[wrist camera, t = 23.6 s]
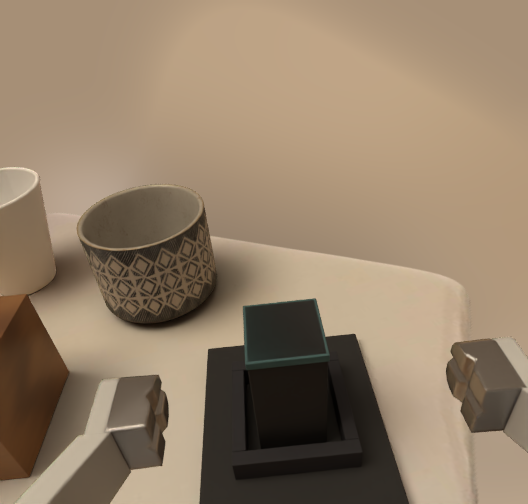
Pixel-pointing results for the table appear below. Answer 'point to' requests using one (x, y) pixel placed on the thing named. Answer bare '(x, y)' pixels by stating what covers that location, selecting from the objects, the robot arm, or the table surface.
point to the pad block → (287, 372)
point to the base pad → (301, 456)
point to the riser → (25, 385)
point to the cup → (23, 234)
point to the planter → (150, 251)
